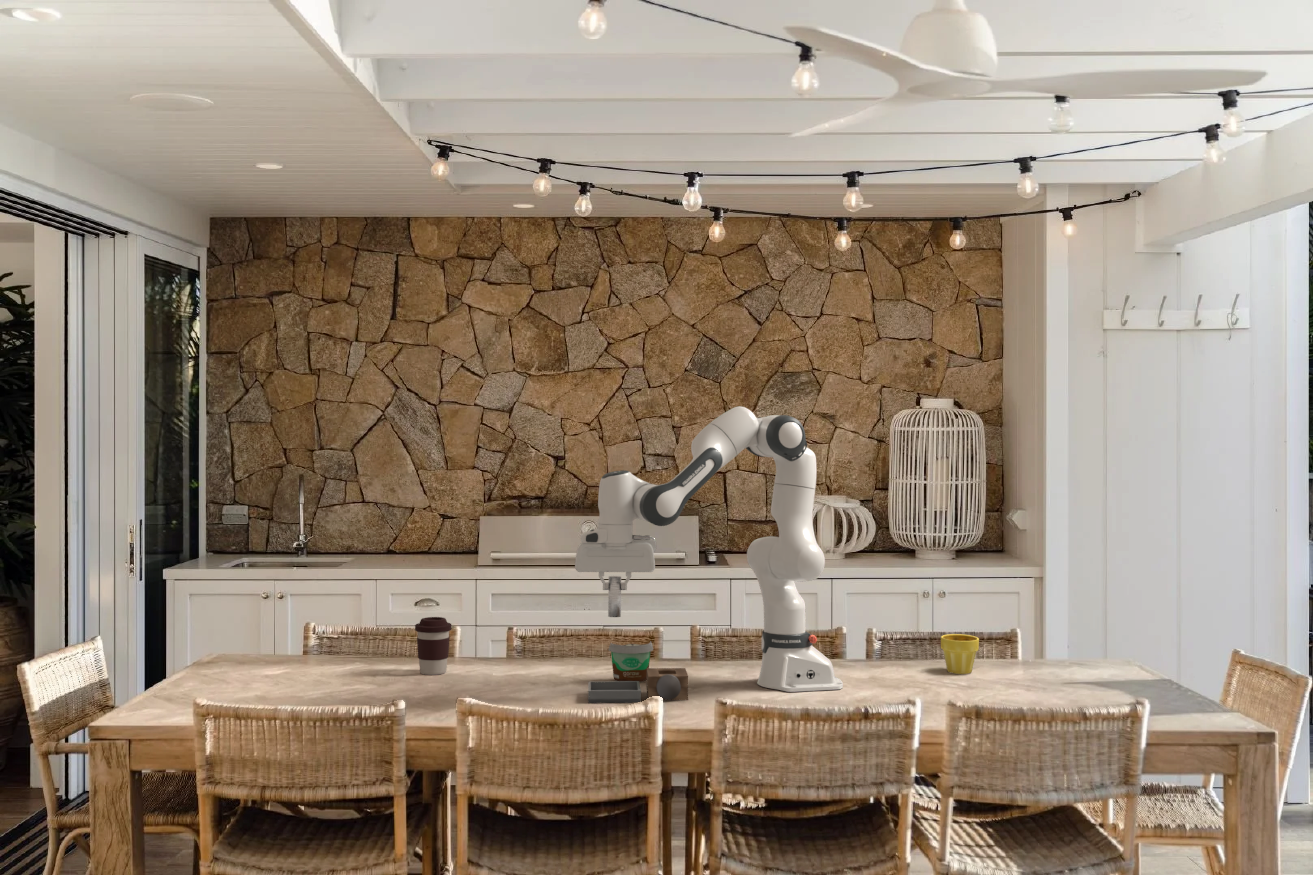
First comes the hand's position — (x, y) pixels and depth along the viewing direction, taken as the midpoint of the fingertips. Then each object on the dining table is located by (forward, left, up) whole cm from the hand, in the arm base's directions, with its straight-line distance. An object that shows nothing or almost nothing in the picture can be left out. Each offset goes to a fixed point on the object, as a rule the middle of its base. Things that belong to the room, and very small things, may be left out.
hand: (614, 589), depth 303 cm
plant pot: (-98, -29, -28) cm, 105 cm away
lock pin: (0, 0, -7) cm, 7 cm away
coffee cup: (+49, -32, -28) cm, 65 cm away
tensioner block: (-14, -2, -27) cm, 30 cm away
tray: (0, 0, -27) cm, 27 cm away
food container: (-6, -20, -28) cm, 34 cm away
